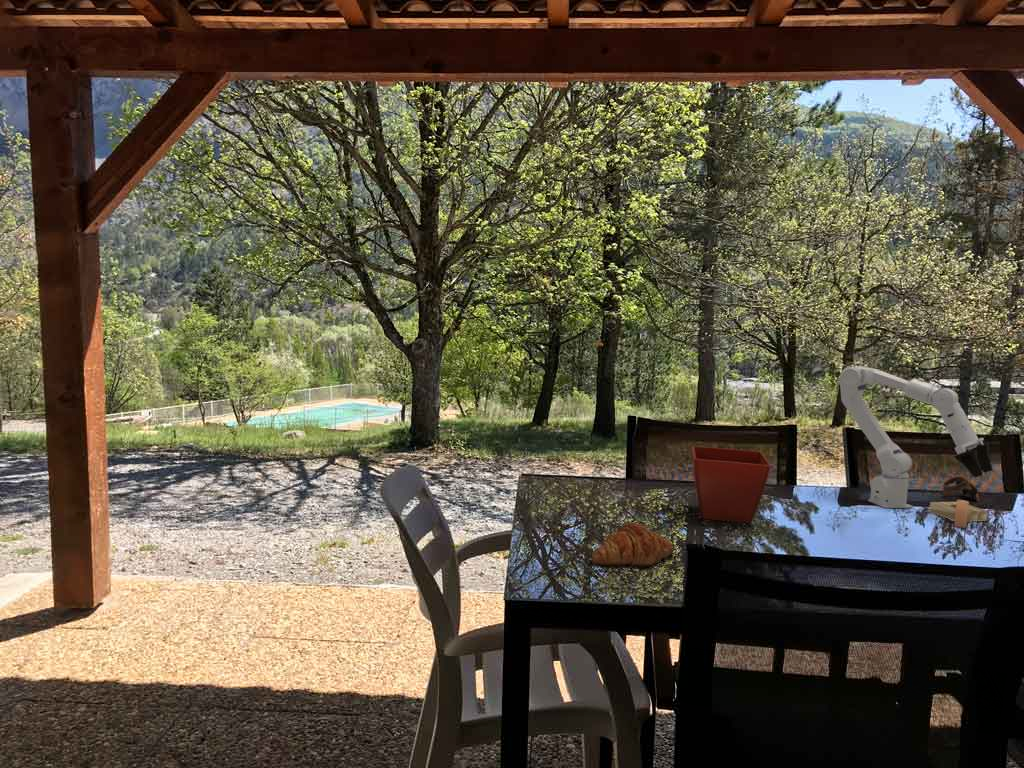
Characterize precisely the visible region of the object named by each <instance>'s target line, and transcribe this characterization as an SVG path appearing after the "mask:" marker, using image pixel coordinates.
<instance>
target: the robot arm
mask: <svg viewBox="0 0 1024 768" xmlns="http://www.w3.org/2000/svg"><path fill="white" fill-rule="evenodd" d="M837 382H838V384H839V387H840V389H839V390H840V398H841V399H840V400H841V402H842V404H843V406H844V407H845V408H846V410H847V411H848V413H849V414H850V416H851V417H852V418H853V419H854V421H855V423H856V424H857V425H858V428H860V429H861V431H862V433H863V434H864V435H865V437H866V438H867V439H868V441H869V443H870V444H871V445H872V447H873V448H874V450H875V452H876V453H875V454H876V459H878V461H879V463H880V469H881V474H880V475H875V476H874V477H873V478H872V480H871V485H870V497H869V499H868V500H867V501H868V502H870V503H872V504H874V505H877V506H879V507H883V508H884V509H895V508H896V509H897V508H898V509H905V508H907V509H911V508H914V506H913V505H912V504H909V503H907V500H908V499H907V498H908V490H909V480H910V475H909V471H910V470H911V469H912V466H913V460H912V457H911V456H910V455H909V454H908V453H906V452H905V451H903V450H902V449H901V447H900V446H899V445H897V444H896V443H895V442H893V441H892V439H891V438H890V437H889V435H888V434H887V433H886V431H885V430H884V427H882V426H881V424H880V423H879V421H878V420H877V418H876V417H875V416H874V414H873V413H872V412H871V409H869V407H868V406H867V404H866V403H865V402H864V401H863V399H862V398H863V394H864V391H865V389H866V388H867V386H868V384H874V383H877V384H879V385H884V386H886V387H887V386H888V387H889V388H890V387H891V388H894V389H897V390H899V391H903V392H904V394H905V395H906V397H908V398H910V399H913V400H915V401H918V402H921V403H924V404H928V405H932V407H933V408H934V409H936V410H937V411H938V412H939V414H940V415H941V416H940V417H941V419H942V420H943V423H944V425H945V427H946V428H947V430H948V432H949V434H950V436H951V438H952V441H953V442H954V444H955V447H954V450H955V452H956V454H957V455H954V458H955V460H957V461H958V462H959V463H961V464H962V465H963V466H964V467H965V468H966V469H967V471H968V472H969V473H970V474H971V476H973V478H978V477H980V476H983V475H984V474H985V473H988V472H990V471H993V466H992V463H991V458H990V444H989V443H987V444H984V441H985V440H984V437H978V435H977V434H976V432H975V430H974V428H973V425H972V424H971V422H970V421H969V418H968V416H967V415H966V412H965V410H964V409H963V408H962V406H961V404H960V402H959V395H958V393H957V392H956V391H955V390H953V389H951V388H950V387H944V388H942V385H941V384H936V385H935V384H932V383H930V382H926V381H925V379H924V378H921V377H920V378H913V379H910V380H907V379H904V378H901V377H898V376H895V375H893V374H890V373H888V372H885V371H882V370H880V369H876V368H873V367H866V366H864V365H856V366H852V365H851V366H847V367H845V368H843V369H842V370H841V372H840V375H839V377H838V381H837ZM983 473H984V474H983Z"/></svg>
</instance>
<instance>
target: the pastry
mask: <svg viewBox="0 0 1024 768" xmlns="http://www.w3.org/2000/svg"><path fill="white" fill-rule="evenodd" d="M674 547H675V546H674V545H673V543H672V542H671V541H670V540H669V539H668V538H665V537H662V536H661V535H659V534H658V533H656V532H654V531H651V530H650V529H649V528H647V527H646V526H644V525H642V524H640V523H637V522H627V523H625V524H622V525H621V526H620V527H619V528H618V530H617V532H612V533H610V534H609V533H608V534H607V536H606V538H605V540H604V541H602V543H601V545H600V546H598V547H596V548H595V549H594V550H593V552H592V555H591V560H590V561H591V563H592V564H593V565H594V566H601V567H602V566H605V567H610V566H611V567H626V566H628V567H640V568H645V567H646V568H649V567H652V566H655V565H657V564H659V563H660V562H661V560H666V559H667V558H669V557H671V556H672V555H673V554H674V552H675V548H674Z"/></svg>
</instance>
